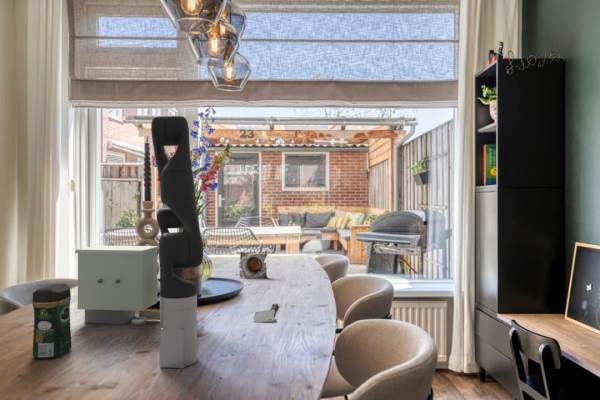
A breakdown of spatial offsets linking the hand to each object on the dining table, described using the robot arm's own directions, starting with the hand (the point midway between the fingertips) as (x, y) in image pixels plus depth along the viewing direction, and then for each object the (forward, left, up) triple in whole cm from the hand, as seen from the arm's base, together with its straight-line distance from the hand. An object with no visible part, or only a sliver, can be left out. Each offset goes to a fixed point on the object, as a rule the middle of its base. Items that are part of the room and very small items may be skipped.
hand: (173, 316), depth 153 cm
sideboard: (-2, +18, -2) cm, 18 cm away
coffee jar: (-34, +20, -2) cm, 40 cm away
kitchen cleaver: (+14, -30, -2) cm, 33 cm away
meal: (+88, -10, -2) cm, 88 cm away
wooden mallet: (0, +5, -1) cm, 5 cm away
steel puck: (-3, +11, -2) cm, 11 cm away
